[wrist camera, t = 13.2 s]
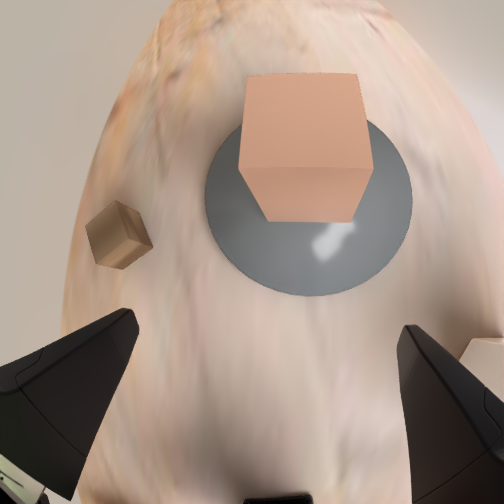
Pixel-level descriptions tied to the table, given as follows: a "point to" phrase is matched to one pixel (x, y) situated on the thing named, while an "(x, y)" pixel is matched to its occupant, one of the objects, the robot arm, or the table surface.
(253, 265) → the plate
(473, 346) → the jar
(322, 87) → the tan rectangular block
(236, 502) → the table surface
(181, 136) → the table surface
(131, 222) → the block
